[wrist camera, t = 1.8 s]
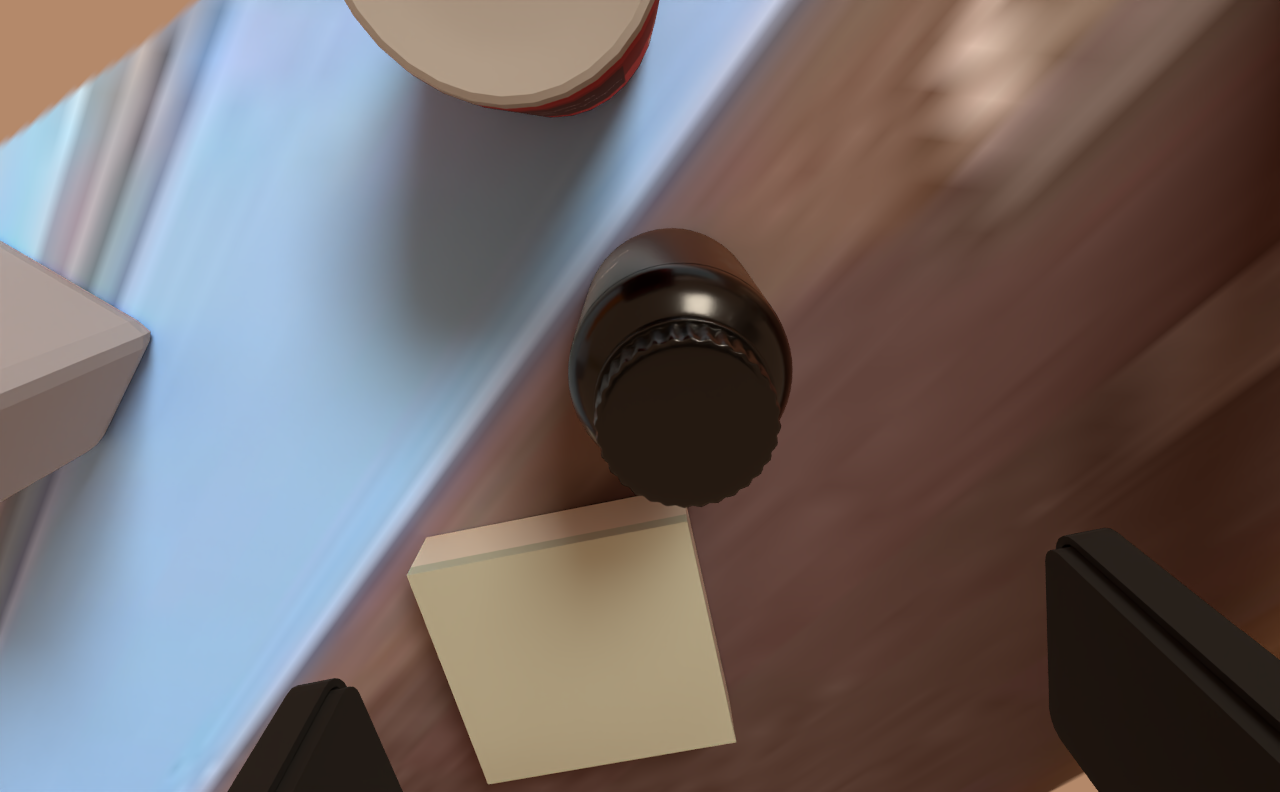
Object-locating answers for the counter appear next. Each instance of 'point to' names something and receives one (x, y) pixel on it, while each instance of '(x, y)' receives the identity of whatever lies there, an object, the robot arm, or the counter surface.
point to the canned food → (515, 48)
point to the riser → (576, 637)
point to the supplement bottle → (679, 369)
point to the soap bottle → (56, 369)
